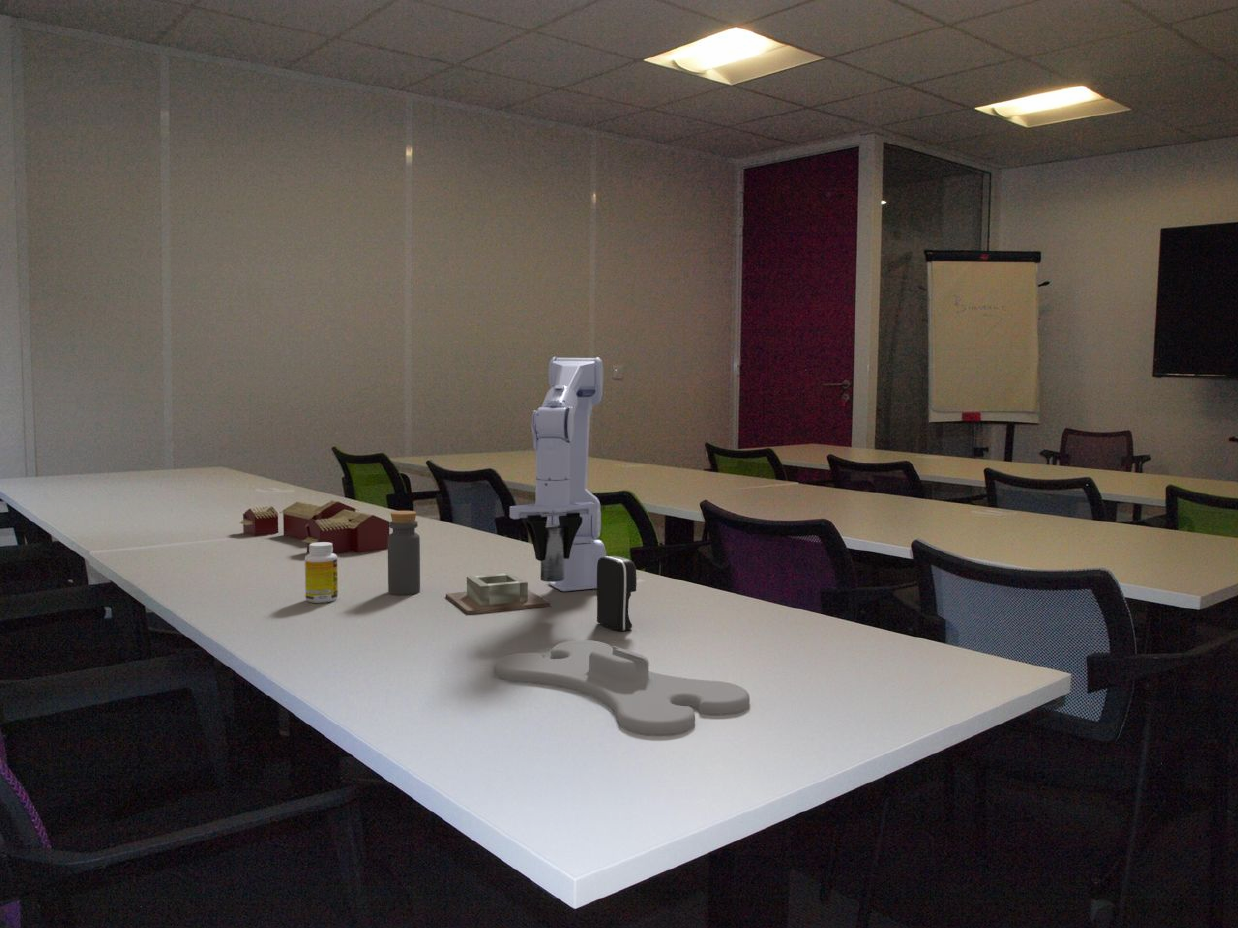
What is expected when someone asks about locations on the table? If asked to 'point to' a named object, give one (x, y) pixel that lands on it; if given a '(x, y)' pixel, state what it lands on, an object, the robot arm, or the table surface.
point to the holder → (625, 686)
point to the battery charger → (615, 591)
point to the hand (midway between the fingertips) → (552, 558)
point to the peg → (553, 554)
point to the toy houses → (322, 526)
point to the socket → (496, 594)
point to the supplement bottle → (321, 573)
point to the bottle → (403, 554)
